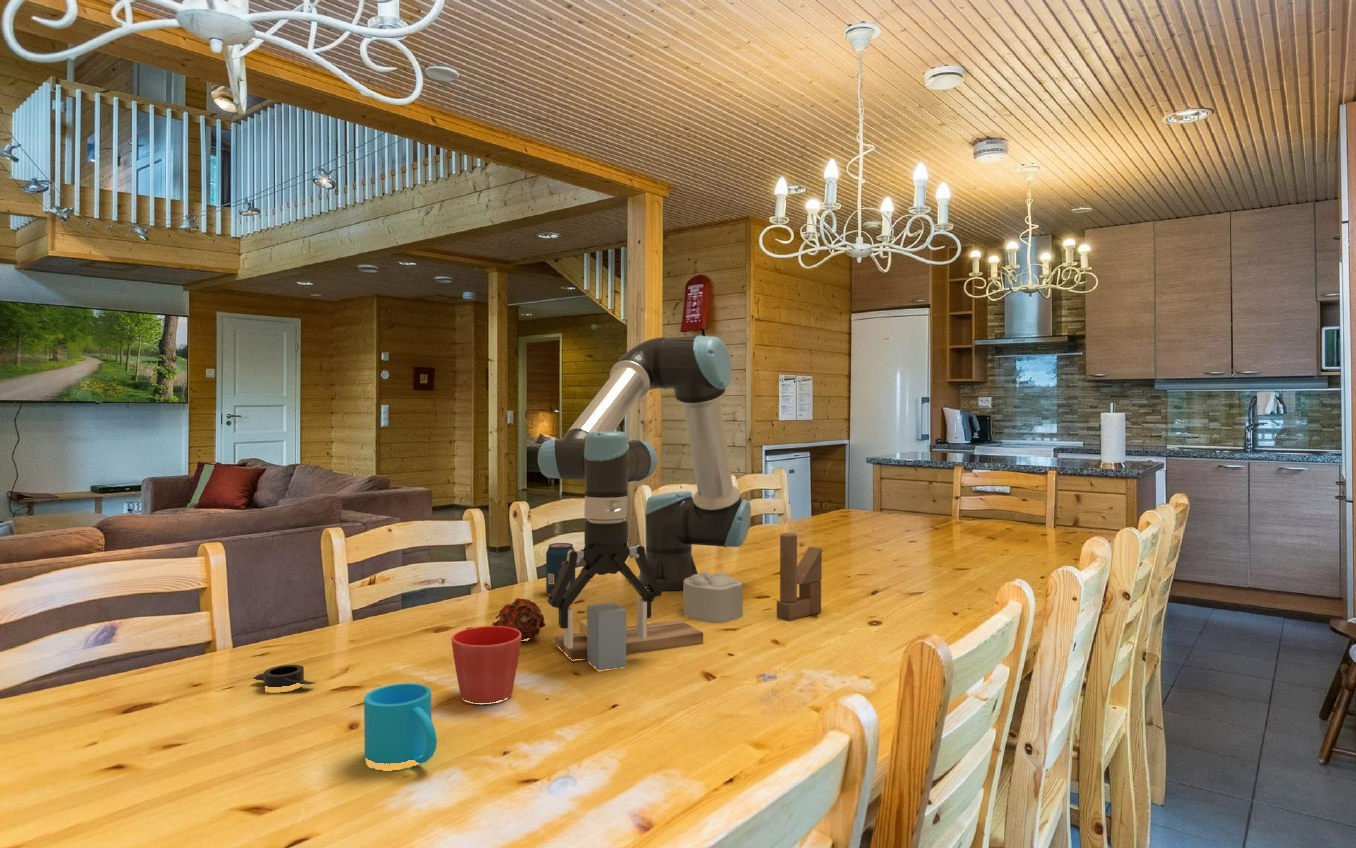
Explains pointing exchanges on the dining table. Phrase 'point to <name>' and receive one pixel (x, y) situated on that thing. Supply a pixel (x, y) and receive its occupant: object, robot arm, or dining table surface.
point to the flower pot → (486, 662)
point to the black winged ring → (283, 676)
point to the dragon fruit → (522, 617)
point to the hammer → (605, 635)
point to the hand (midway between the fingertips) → (605, 641)
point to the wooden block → (799, 580)
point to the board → (656, 639)
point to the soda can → (556, 564)
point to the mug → (399, 724)
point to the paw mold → (712, 597)
